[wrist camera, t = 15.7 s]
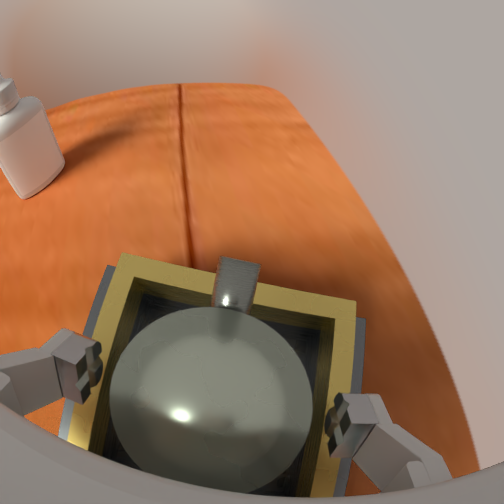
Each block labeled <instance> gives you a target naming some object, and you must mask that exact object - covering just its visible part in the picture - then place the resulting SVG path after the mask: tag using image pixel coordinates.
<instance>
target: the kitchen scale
mask: <svg viewBox="0 0 504 504" xmlns="http://www.w3.org/2000/svg"><path fill="white" fill-rule="evenodd" d="M215 276H216V273H211V272H206V271H202V270H197V269H193V268H188V267H183V266H179V265H174V264H170V263H166V262H161V261H157V260H152V259H148V258H144V257H140V256H135V255H131V254H127V253H123V252H122V254H121V256H120V259H119V261H118V264H117V266H116V267H114V266H110V265H107V267H106V270H105V272H104V275H103V278H102V280H101V283H100V285H99V288H98V291H97V294H96V296H95V299H94V302H93V305H92V308H91V311H90V314H89V317H88V320H87V323H86V326H85V329H84V332H83V335H84V336H86V337H89V338H92V339H94V340H97V341H99V342H100V343H101V347H102V352H101V354H100V355H99V357H100V358H101V360H102V361H103V374H102V376H101V379H100V381H99V383H98V384H97V386H95V387H92V388H90V389H91V394H90V396H89V397H88V399H87V400H86V401H85V403H84V404H83V405H81V404H79V403H76V402H74V401H72V400H69V399H67V398H66V399H65V404H64V408H63V413H62V418H61V423H60V429H59V434H58V437H60V438H62V439H64V440H66V441H68V442H70V443H72V444H74V445H76V446H78V447H81V448H83V449H85V450H87V451H90V452H92V453H94V454H97V455H99V456H102V457H104V458H107V459H109V460H112V461H115V462H117V463H120V464H123V465H126V466H128V467H131V468H134V469H137V470H140V471H142V470H141V469H140V468H139V467H138V466H137V465H136V464H135V463H134V462H133V461H132V460H131V458H130V457H129V456H128V454H127V453H126V452H125V450H124V448H123V447H122V445H121V443H120V441H119V440H118V437H117V435H116V432H115V430H114V427H113V423H112V419H111V415H110V405H109V393H110V384H111V379H112V375H113V372H114V369H115V366H116V364H117V362H118V360H119V358H120V356H121V354H122V352H123V351H124V349H125V348H126V346H127V345H128V343H129V342H130V341H131V340H132V339H133V338H134V337H135V336H136V335H137V334H138V333H139V332H140V331H141V330H142V329H144V328H145V327H146V326H147V325H149V324H151V323H152V322H154V321H155V320H157V319H159V318H161V317H163V316H165V315H167V314H170V313H173V312H176V311H179V310H183V309H188V308H194V307H209V306H210V301H211V296H212V291H213V286H214V281H215ZM250 316H253V317H255V318H257V319H259V320H260V321H262V322H264V323H266V324H267V325H269V326H270V327H271V328H273V329H274V330H276V331H277V332H278V333H279V334H280V335H281V336H282V337H283V338H284V339H285V340H286V341H287V342H288V343H289V344H290V345H291V347H292V348H293V349H294V350H295V352H296V353H297V355H298V356H299V358H300V360H301V362H302V364H303V366H304V368H305V370H306V372H307V375H308V378H309V381H310V385H311V390H312V398H313V413H312V422H311V426H310V430H309V434H308V436H307V439H306V441H305V444H304V446H303V448H302V449H301V451H300V453H299V455H298V456H297V457H296V459H295V460H294V461H293V463H292V464H291V465H290V466H289V467H288V468H287V469H286V470H285V471H284V472H283V473H282V474H281V475H280V476H278V477H277V478H276V479H274V480H273V481H272V482H270V483H268V484H267V485H265V486H263V487H261V488H259V489H257V490H255V491H252V492H249V493H247V494H254V495H265V496H279V497H309V498H315V497H344V495H345V490H346V486H347V481H348V476H349V471H350V466H351V460H352V458H330V456H329V451H328V446H327V443H328V441H329V439H330V438H329V437H328V436H327V435H326V434H325V430H324V422H325V417H326V415H327V412H328V410H329V409H330V408H332V407H333V406H335V405H334V401H333V400H334V398H335V396H336V395H337V394H338V393H339V392H344V393H360V394H361V387H362V376H363V364H364V349H365V329H366V319H365V318H359V317H356V301H353V300H347V299H342V298H336V297H331V296H326V295H320V294H315V293H310V292H304V291H299V290H294V289H289V288H284V287H279V286H274V285H269V284H264V283H259V282H258V283H257V287H256V292H255V297H254V301H253V306H252V310H251V315H250Z"/></svg>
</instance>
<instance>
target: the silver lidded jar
mask: <svg viewBox="0 0 504 504" xmlns="http://www.w3.org/2000/svg"><path fill="white" fill-rule="evenodd" d="M260 269H261V264H258V263H254V262H249V261H245V260H240V259H235V258H230V257H225V256H220V257H219V262H218V266H217V271H216V276H215V281H214V286H213V291H212V296H211V301H210V306H209V307H194V308H188V309H183V310H179V311H176V312H173V313H170V314H167V315H165V316H163V317H161V318H159V319H157V320H155V321H154V322H152V323H151V324H149V325H147V326H146V327H145V328H144V329H142V330H141V331H140V332H139V333H138V334H137V335H136V336H135V337H134V338H133V339H132V340H131V341H130V342H129V343H128V345H127V346H126V348H125V349H124V351H123V352H122V354H121V356H120V358H119V360H118V362H117V364H116V366H115V369H114V372H113V375H112V379H111V384H110V393H109V405H110V415H111V419H112V423H113V427H114V430H115V432H116V435H117V437H118V440H119V441H120V443H121V445H122V447H123V448H124V450H125V452H126V453H127V454H128V456H129V457H130V458H131V460H132V461H133V462H134V463H135V464H136V465H137V466H138V467H139V468H140V469H141V470H142V471H144V472H147V473H150V474H153V475H157V476H160V477H164V478H168V479H171V480H175V481H179V482H184V483H188V484H192V485H197V486H202V487H207V488H212V489H218V490H224V491H230V492H238V493H245V494H247V493H249V492H252V491H255V490H257V489H259V488H261V487H263V486H265V485H267V484H268V483H270V482H272V481H273V480H274V479H276V478H277V477H278V476H280V475H281V474H282V473H283V472H284V471H285V470H286V469H287V468H288V467H289V466H290V465H291V464H292V463H293V461H294V460H295V459H296V457H297V456H298V455H299V453H300V451H301V449H302V448H303V446H304V444H305V441H306V439H307V436H308V434H309V430H310V426H311V422H312V413H313V398H312V390H311V385H310V381H309V378H308V375H307V372H306V370H305V368H304V366H303V364H302V362H301V360H300V358H299V356H298V355H297V353H296V352H295V350H294V349H293V348H292V347H291V345H290V344H289V343H288V342H287V341H286V340H285V339H284V338H283V337H282V336H281V335H280V334H279V333H278V332H277V331H276V330H274V329H273V328H271V327H270V326H269V325H267V324H266V323H264V322H262V321H260V320H259V319H257V318H255V317H253V316H250V315H251V310H252V306H253V301H254V297H255V292H256V287H257V283H258V278H259V273H260Z"/></svg>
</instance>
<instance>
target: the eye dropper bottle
mask: <svg viewBox="0 0 504 504" xmlns="http://www.w3.org/2000/svg"><path fill="white" fill-rule="evenodd" d="M64 165H65V160H64V157H63V155H62V153H61V150H60V148H59V145H58V143H57V140H56V138H55V135H54V133H53V130H52V128H51V125H50V123H49V120H48V117H47V115H46V112H45V109H44V107H43V105H42V102H41V101H40V100H39V99H38V98H36V97H33V96H29V97H24V98H21V99H20V98H19V95H18V92H17V90H16V87H15V84H14V81H13V79H11V78H8V79H4V78H3V77H2V75H1V74H0V168H1V169H2V171H3V173H4V174H5V176H6V178H7V179H8V181H9V182H10V184H11V186H12V187H13V189H14V190H15V192H16V193H17V195H18V196H19V197H20V198H21V199H27V198H29V197H31V196H33V195H35V194H36V193H38V192H39V191H41V190H42V189H44V188H45V187H46V186H47V185H48V184H49V183H51V182H52V181H53V180H54V179H55V178H56V176H57V175H58V174H59V173H60V172H61V170H62V169H63V167H64Z"/></svg>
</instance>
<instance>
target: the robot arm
mask: <svg viewBox="0 0 504 504" xmlns="http://www.w3.org/2000/svg"><path fill="white" fill-rule="evenodd" d="M101 352H102V347H101V343H100V342H99V341H97V340H94V339H92V338H89V337H86V336H84V335H81V334H79V333H76V332H73V331H71V330H69V329H66V328H63V329H61V330H60V331H59V332H57V333H56V334H55V335H54V336H53V337H52V338H51V339H49V340H48V341H47V342H46V343H45V344H44V345H43V346H42V347H40V348H39V349H38V348H31V349H27V350H22V351H17V352H13V353H8V354H3V355H0V504H504V462H501V463H499V464H496V465H493V466H491V467H488V468H485V469H483V470H480V471H477V472H474V473H471V474H467V475H464V476H461V477H458V478H454V479H453V478H452V476H451V474H450V472H449V470H448V468H447V466H446V464H445V461H444V459H443V457H442V456H441V455H440V454H438V453H437V452H435V451H434V450H432V449H431V448H430V447H428V446H427V445H425V444H424V443H423V442H421V441H420V440H418V439H417V438H416V437H414V436H413V435H411V434H410V433H409V432H407V431H406V430H404V429H403V428H402V427H400V426H399V425H398V424H393V423H392V420H391V418H390V416H389V414H388V412H387V409H386V407H385V405H384V403H383V401H382V398H381V396H380V395H379V394H369V393H365V394H360V393H344V392H339V393H338V394H337V395H336V396H335V398H334V400H333V401H334V405H335V406H333V407H332V408H330V409H329V410H328V412H327V415H326V417H325V422H324V430H325V434H326V435H327V436H328V437H329V438H330V439H329V441H328V443H327V446H328V451H329V456H330V458H353V461H354V462H355V463H356V464H357V465H358V466H359V467H360V468H361V470H362V471H363V472H364V473H365V474H366V475H367V476H368V477H369V478H370V480H371V481H372V482H373V483H374V484H375V485H376V486H377V487H378V488H379V489H380V490H381V492H380V493H379V494H370V495H360V496H346V497H315V498H309V497H279V496H265V495H254V494H245V493H238V492H230V491H224V490H218V489H212V488H207V487H202V486H197V485H192V484H188V483H184V482H179V481H175V480H171V479H168V478H164V477H160V476H157V475H153V474H150V473H147V472H144V471H140V470H137V469H134V468H131V467H128V466H126V465H123V464H120V463H117V462H115V461H112V460H109V459H107V458H104V457H102V456H99V455H97V454H94V453H92V452H90V451H87V450H85V449H83V448H81V447H78V446H76V445H74V444H72V443H70V442H68V441H66V440H64V439H62V438H60V437H58V436H56V435H54V434H52V433H50V432H48V431H46V430H45V429H43V428H41V427H39V426H37V425H36V424H34V423H32V422H31V421H29V420H27V419H26V418H25V417H24V415H26V414H28V413H30V412H33V411H35V410H37V409H39V408H41V407H44V406H46V405H48V404H50V403H52V402H55V401H57V400H59V399H61V398H62V397H65V398H67V399H69V400H72V401H74V402H76V403H79V404H81V405H83V404H84V403H85V401H86V400H87V399H88V397H89V396H90V394H91V389H90V388H92V387H95V386H97V384H98V383H99V381H100V379H101V376H102V374H103V361H102V360H101V358H100V357H99V355H100V354H101Z"/></svg>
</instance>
